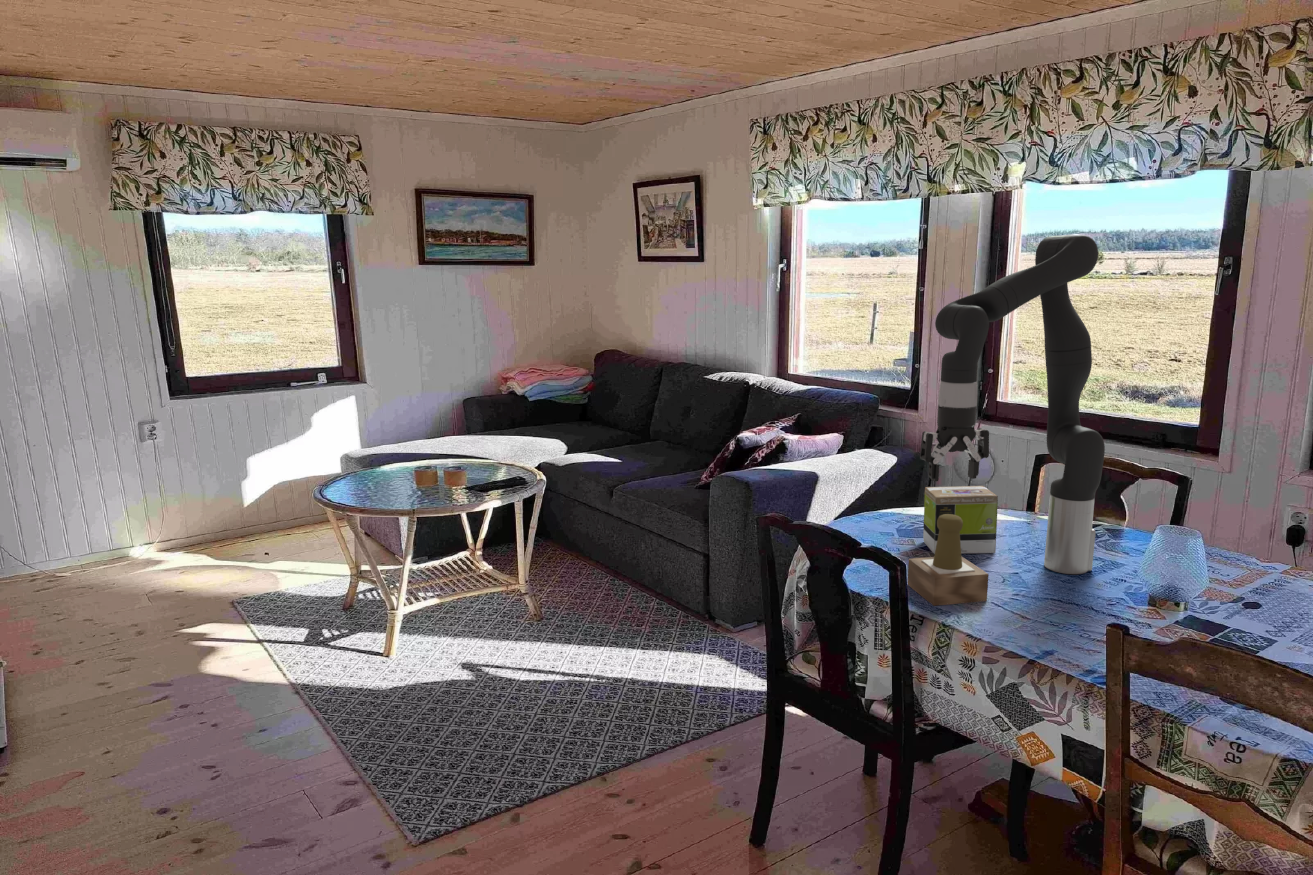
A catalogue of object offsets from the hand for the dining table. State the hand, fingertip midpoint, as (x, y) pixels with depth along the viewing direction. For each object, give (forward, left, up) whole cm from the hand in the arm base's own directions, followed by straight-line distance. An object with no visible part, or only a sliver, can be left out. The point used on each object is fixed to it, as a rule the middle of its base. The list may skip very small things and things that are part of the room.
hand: (953, 479), depth 183 cm
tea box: (-17, -26, -26) cm, 40 cm away
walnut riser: (0, 0, -25) cm, 25 cm away
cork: (0, 0, -19) cm, 19 cm away
